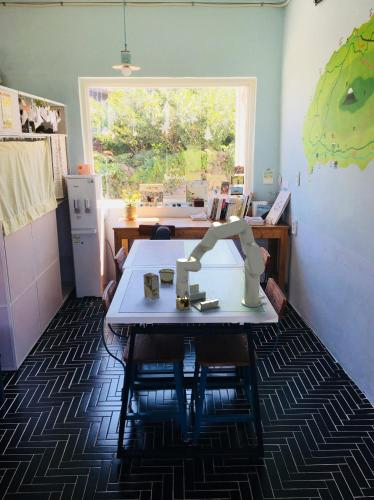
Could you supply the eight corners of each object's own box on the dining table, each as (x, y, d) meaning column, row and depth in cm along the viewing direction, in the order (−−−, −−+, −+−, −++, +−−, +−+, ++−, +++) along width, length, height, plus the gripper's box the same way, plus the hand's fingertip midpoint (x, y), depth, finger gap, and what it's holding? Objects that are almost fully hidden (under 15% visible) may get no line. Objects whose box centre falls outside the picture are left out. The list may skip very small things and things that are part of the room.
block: (187, 306, 265) (187, 296, 263) (190, 308, 261) (190, 298, 260) (176, 308, 261) (175, 298, 259) (179, 310, 258) (178, 300, 256)
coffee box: (159, 297, 279) (159, 275, 275) (152, 300, 275) (151, 277, 270) (151, 294, 285) (150, 272, 281) (143, 297, 281) (142, 274, 277)
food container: (177, 281, 309) (176, 269, 306) (174, 284, 303) (174, 271, 301) (161, 280, 312) (161, 268, 310) (158, 283, 307) (158, 270, 304)
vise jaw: (201, 294, 280) (201, 282, 278) (205, 297, 275) (205, 284, 273) (185, 297, 275) (185, 285, 272) (189, 301, 270) (189, 288, 267)
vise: (204, 296, 279) (204, 290, 278) (219, 307, 262) (219, 299, 261) (185, 300, 273) (185, 293, 272) (200, 311, 256) (200, 304, 255)
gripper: (171, 275, 262) (171, 300, 266) (183, 283, 247) (183, 310, 252) (181, 273, 265) (181, 298, 270) (194, 281, 250) (194, 308, 255)
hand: (182, 304), depth 261 cm, fingers open, 9 cm apart
